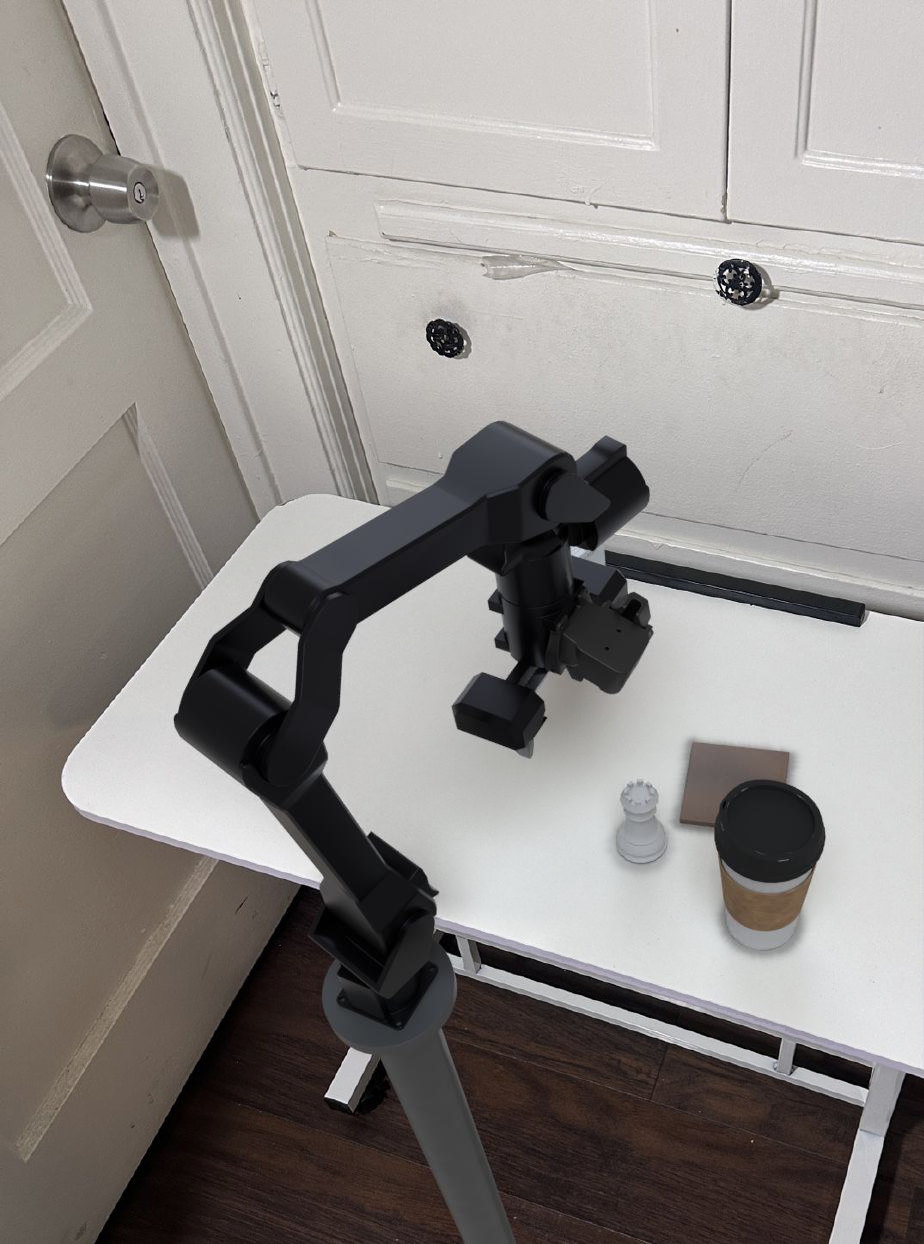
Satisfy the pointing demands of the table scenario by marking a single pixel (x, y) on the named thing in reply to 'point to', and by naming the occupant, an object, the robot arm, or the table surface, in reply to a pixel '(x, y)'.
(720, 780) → the walnut coaster
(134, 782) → the table surface
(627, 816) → the rook chess piece
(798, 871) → the coffee cup
